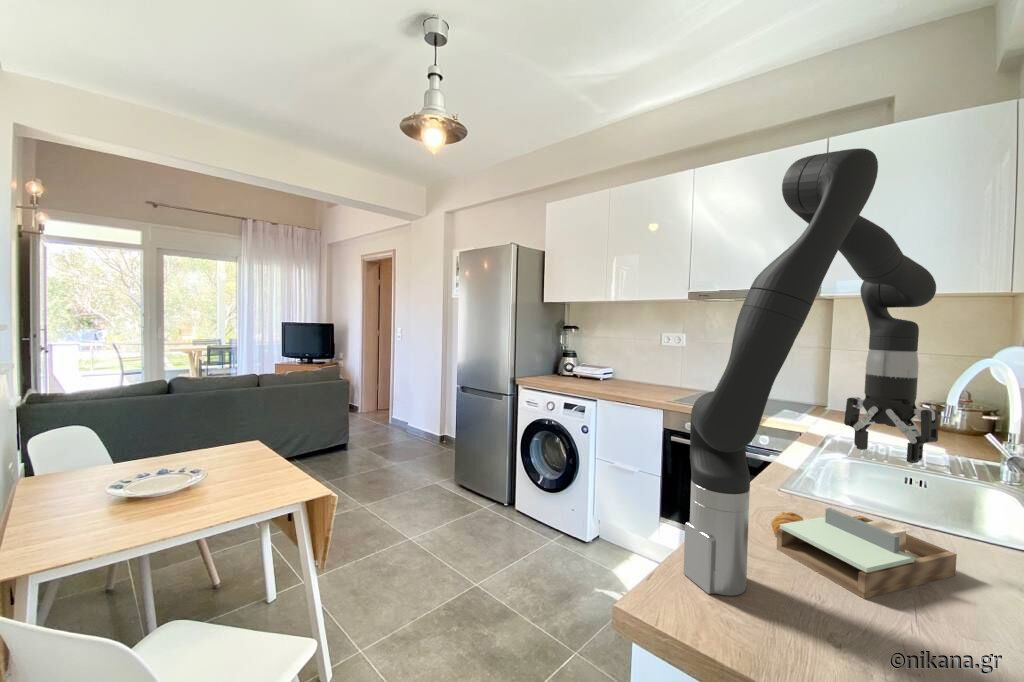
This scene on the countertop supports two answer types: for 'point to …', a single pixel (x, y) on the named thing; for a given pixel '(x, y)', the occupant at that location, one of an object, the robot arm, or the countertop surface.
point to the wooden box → (924, 569)
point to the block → (894, 530)
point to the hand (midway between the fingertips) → (885, 455)
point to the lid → (851, 540)
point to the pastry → (784, 520)
